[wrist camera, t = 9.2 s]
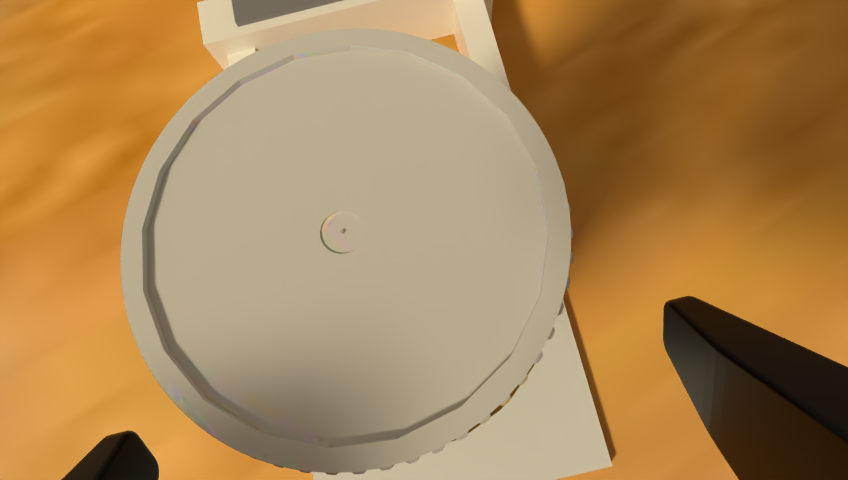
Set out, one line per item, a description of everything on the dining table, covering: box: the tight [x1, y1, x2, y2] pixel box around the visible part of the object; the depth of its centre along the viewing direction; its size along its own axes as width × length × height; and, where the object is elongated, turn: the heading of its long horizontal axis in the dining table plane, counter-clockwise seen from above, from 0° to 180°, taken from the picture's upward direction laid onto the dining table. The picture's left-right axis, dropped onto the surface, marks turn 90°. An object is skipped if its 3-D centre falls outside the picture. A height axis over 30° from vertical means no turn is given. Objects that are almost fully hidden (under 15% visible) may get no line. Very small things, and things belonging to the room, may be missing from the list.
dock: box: [197, 0, 511, 91], centre depth 23 cm, size 9×12×4 cm
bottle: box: [121, 28, 573, 475], centre depth 15 cm, size 7×7×15 cm
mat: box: [313, 300, 612, 480], centre depth 22 cm, size 11×11×1 cm
